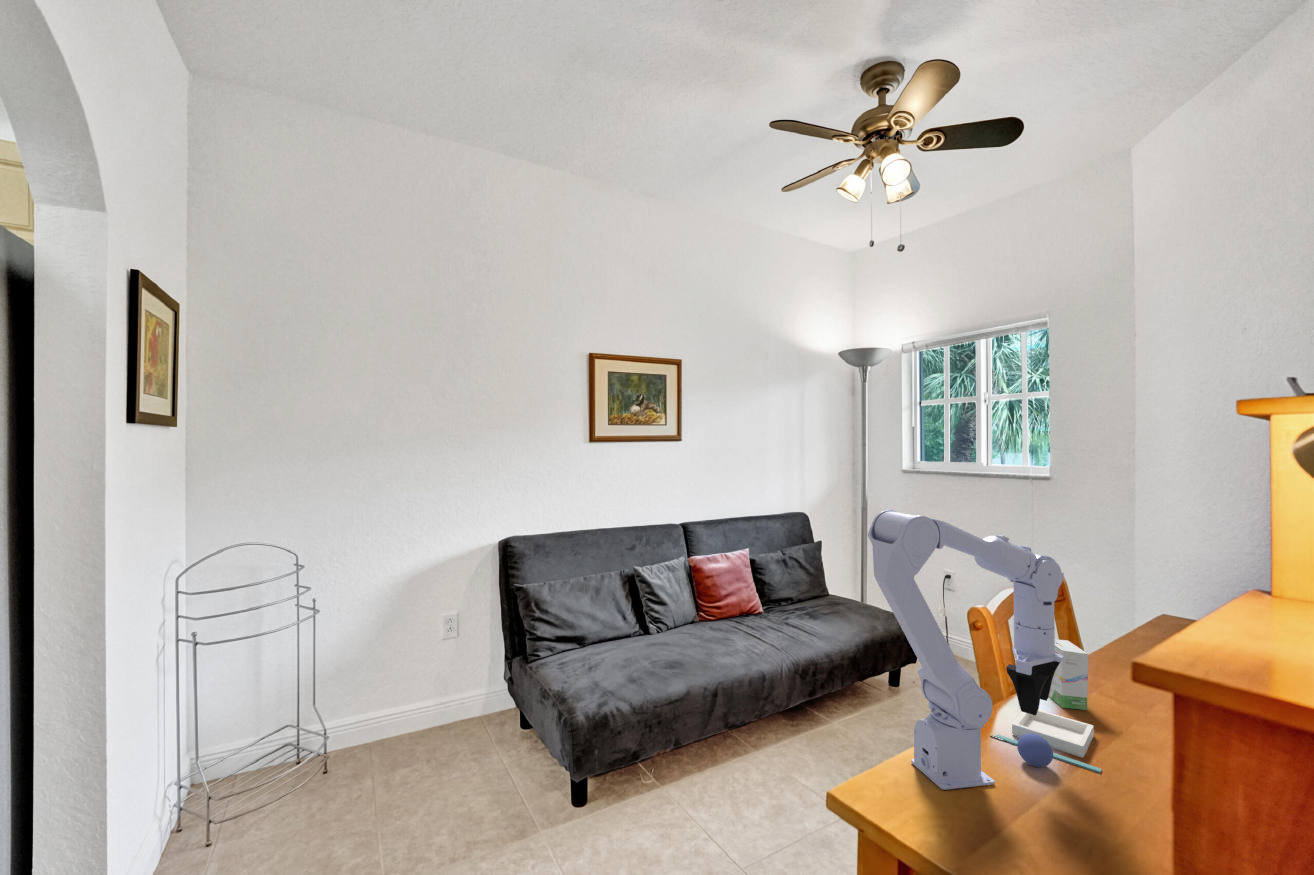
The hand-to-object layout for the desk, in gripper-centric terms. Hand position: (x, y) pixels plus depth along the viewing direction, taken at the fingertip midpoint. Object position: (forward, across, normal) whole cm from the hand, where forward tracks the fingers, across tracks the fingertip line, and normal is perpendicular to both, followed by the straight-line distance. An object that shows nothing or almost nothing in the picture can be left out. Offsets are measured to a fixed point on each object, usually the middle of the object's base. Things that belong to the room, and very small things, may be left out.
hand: (1034, 705), depth 93 cm
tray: (+10, +14, 0) cm, 17 cm away
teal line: (+10, +6, 0) cm, 11 cm away
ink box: (+10, +34, +2) cm, 35 cm away
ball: (+7, 0, 0) cm, 7 cm away
